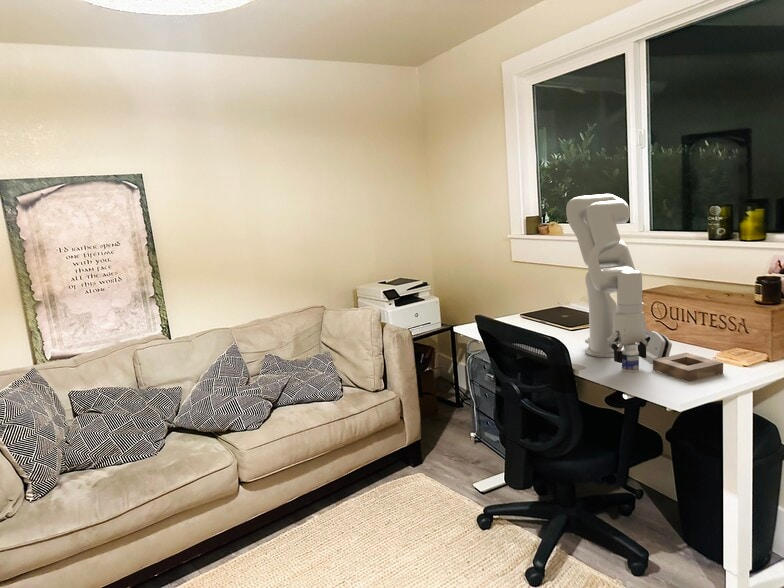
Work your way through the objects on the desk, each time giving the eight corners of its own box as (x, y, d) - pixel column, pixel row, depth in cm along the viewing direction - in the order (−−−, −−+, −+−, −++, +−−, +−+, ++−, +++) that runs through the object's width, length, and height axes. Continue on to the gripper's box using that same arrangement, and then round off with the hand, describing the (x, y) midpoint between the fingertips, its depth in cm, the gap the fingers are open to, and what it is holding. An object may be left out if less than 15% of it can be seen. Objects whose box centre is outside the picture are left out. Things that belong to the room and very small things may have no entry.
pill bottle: (620, 367, 188) (619, 341, 187) (636, 367, 188) (636, 341, 186) (623, 372, 183) (623, 346, 182) (640, 372, 182) (640, 345, 181)
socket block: (652, 369, 183) (652, 359, 183) (686, 362, 188) (686, 352, 187) (688, 381, 170) (688, 370, 170) (723, 373, 175) (723, 362, 174)
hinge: (630, 351, 206) (639, 325, 204) (642, 354, 206) (651, 328, 204) (652, 364, 189) (662, 336, 188) (665, 367, 189) (675, 339, 188)
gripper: (642, 303, 188) (642, 352, 191) (599, 310, 183) (600, 361, 186) (659, 306, 181) (659, 357, 184) (616, 314, 176) (616, 367, 179)
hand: (630, 359), depth 185 cm, fingers open, 9 cm apart
